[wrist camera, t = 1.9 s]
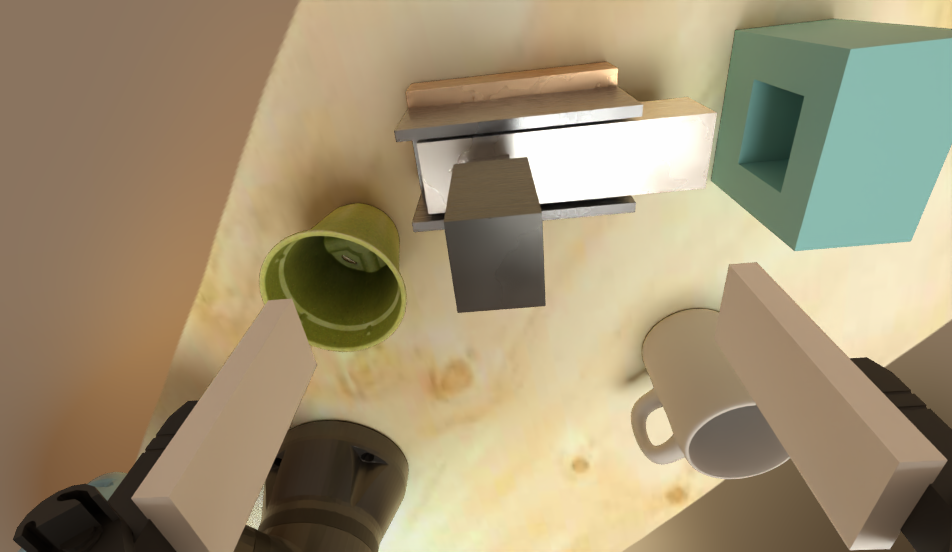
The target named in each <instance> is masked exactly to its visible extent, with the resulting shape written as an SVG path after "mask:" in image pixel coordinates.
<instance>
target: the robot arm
mask: <svg viewBox="0 0 952 552" xmlns="http://www.w3.org/2000/svg"><path fill="white" fill-rule="evenodd" d="M714 339H715V341H716V342H717V344H718V345H719V347H720V348H721V350H722V352H723V353H724V355H725V356H726V358H727V359H728V361H729V363H730V364H731V366H732V367H733V369H734V370H735V372H736V373H737V375H738V377H739V378H740V380H741V381H742V383H743V384H744V386H745V388H746V389H747V391H748V392H749V394H750V395H751V397H752V399H753V400H754V402H755V403H756V405H757V406H758V408H759V409H760V411H761V413H762V414H763V416H764V417H765V419H766V420H767V422H768V424H769V425H770V427H771V428H772V430H773V431H774V433H775V435H776V436H777V438H778V439H779V441H780V442H781V444H782V445H783V447H784V449H785V450H786V452H787V453H788V455H789V456H790V458H791V460H792V461H793V463H794V464H795V466H796V467H797V469H798V470H799V471H800V474H801V475H802V477H803V478H804V480H805V481H806V483H807V485H808V486H809V488H810V489H811V491H812V492H813V494H814V496H815V497H816V498H817V500H818V502H819V503H820V505H821V507H822V508H823V510H824V511H825V513H826V514H827V516H828V517H829V519H830V521H831V522H832V524H833V525H834V527H835V528H836V530H837V532H838V533H839V535H840V536H841V538H842V539H843V541H844V542H845V544H846V546H847V547H848V549H849V550H870V549H890V548H891V546H892V545H893V543H894V542H895V540H896V538H897V537H898V536H899V534H900V532H901V531H902V533H903V534H904V535H905V537H906V538H907V539H908V541H909V542H910V543H911V545H912V546H913V547H914V549H915V550H914V552H952V429H951V428H950V427H948V425H946V424H945V423H944V422H943V421H942V420H941V419H940V418H939V417H938V416H937V415H936V414H935V413H934V412H933V411H932V410H931V409H927V408H926V404H925V403H924V402H923V401H921V400H920V399H919V398H918V397H917V396H916V395H915V394H912V393H911V390H910V389H909V388H908V387H907V386H906V385H905V384H904V383H903V382H902V381H901V380H900V379H899V378H897V377H896V376H895V375H894V374H893V373H892V372H890V371H889V370H887V369H886V368H884V367H882V366H880V365H879V364H877V363H875V362H874V361H872V360H870V359H869V358H867V357H866V358H849V357H848V356H847V355H846V354H845V353H844V352H843V351H842V350H841V349H840V348H839V347H838V346H837V345H836V344H835V343H834V342H833V341H832V340H831V339H830V338H829V337H828V336H827V335H826V334H825V333H824V332H823V331H822V329H821V328H820V327H819V326H818V325H817V324H816V323H815V322H814V321H813V320H812V319H811V318H810V317H809V316H808V315H807V314H806V313H805V312H804V311H803V310H802V309H801V308H800V307H799V306H798V305H797V304H796V303H795V302H794V300H793V299H792V298H791V297H790V296H789V295H788V294H787V293H786V292H785V291H784V290H783V289H782V288H781V287H780V286H779V285H778V284H777V283H776V282H775V281H774V280H773V279H772V278H771V277H770V276H769V275H768V274H767V273H766V272H765V270H764V269H763V268H762V267H761V266H760V265H759V264H758V263H757V262H754V263H741V264H729V268H728V273H727V278H726V282H725V287H724V292H723V297H722V302H721V307H720V312H719V317H718V322H717V326H716V331H715V336H714ZM316 366H317V364H316V361H315V358H314V356H313V353H312V350H311V348H310V345H309V342H308V340H307V337H306V334H305V332H304V329H303V326H302V324H301V321H300V319H299V316H298V313H297V311H296V308H295V305H294V303H293V300H292V299H280V300H268V301H267V303H266V304H265V306H264V307H263V309H262V310H261V312H260V313H259V314H258V316H257V317H256V319H255V320H254V322H253V323H252V325H251V326H250V327H249V329H248V330H247V332H246V333H245V335H244V336H243V338H242V339H241V340H240V342H239V343H238V345H237V346H236V348H235V349H234V350H233V352H232V353H231V355H230V356H229V358H228V359H227V361H226V362H225V363H224V365H223V366H222V368H221V369H220V371H219V372H218V374H217V375H216V376H215V378H214V379H213V381H212V382H211V384H210V385H209V387H208V388H207V389H206V391H205V392H204V394H203V395H202V397H201V398H200V400H198V401H188V402H186V403H185V404H184V405H183V406H182V407H180V408H179V409H178V410H177V411H176V412H174V413H173V414H172V415H171V416H170V417H169V418H168V419H167V421H166V422H165V423H164V425H163V426H162V427H161V429H160V430H159V431H158V433H157V434H156V438H153V440H152V441H151V442H150V444H149V445H148V446H147V448H146V449H145V450H146V452H145V453H142V455H141V456H140V457H139V459H138V460H137V461H136V463H135V464H134V465H133V467H132V468H131V470H130V471H129V472H128V474H127V473H123V472H112V473H107V474H104V475H101V476H99V477H97V478H95V479H93V480H92V481H90V482H89V483H88V484H81V485H74V486H71V487H69V488H66V489H64V490H61V491H59V492H57V493H55V494H53V495H52V496H50V497H49V498H47V499H45V500H44V501H42V502H41V503H40V504H39V505H37V506H36V507H35V508H34V509H33V510H32V511H31V512H30V513H28V514H27V516H26V517H25V518H24V519H23V521H22V522H21V523H20V525H19V526H18V527H17V530H16V532H15V536H14V538H13V540H14V541H15V542H16V543H17V544H18V545H19V546H21V547H22V548H21V549H20V550H19V551H18V552H378V549H379V545H380V542H381V540H382V538H383V537H384V535H385V533H386V531H387V529H388V527H389V525H390V523H391V521H392V519H393V518H394V516H395V514H396V512H397V510H398V508H399V506H400V504H401V502H402V500H403V498H404V495H405V492H406V486H407V480H408V464H407V461H406V459H405V457H404V455H403V453H402V452H401V451H400V449H399V448H398V447H397V446H396V445H395V444H394V443H393V442H392V441H390V440H389V439H388V438H386V437H385V436H383V435H381V434H380V433H378V432H376V431H374V430H371V429H369V428H366V427H364V426H361V425H357V424H353V423H348V422H341V421H318V422H311V423H307V424H303V425H300V426H298V427H295V428H293V429H291V430H289V431H288V429H289V426H290V424H291V422H292V420H293V418H294V415H295V413H296V411H297V409H298V406H299V404H300V402H301V400H302V397H303V395H304V393H305V391H306V388H307V386H308V384H309V382H310V380H311V377H312V375H313V373H314V371H315V368H316ZM287 431H288V432H287ZM263 485H264V494H263V507H262V520H261V523H260V526H259V528H258V530H256V529H254V528H252V527H250V526H248V525H246V523H247V520H248V518H249V516H250V514H251V511H252V509H253V507H254V505H255V502H256V500H257V498H258V496H259V493H260V491H261V489H262V487H263Z"/></svg>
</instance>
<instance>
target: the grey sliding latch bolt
mask: <svg viewBox="0 0 952 552" xmlns="http://www.w3.org/2000/svg"><path fill="white" fill-rule="evenodd" d="M640 103H642V104H643V112H642V117H633V118H624V119H614V120H605V121H595V122H585V123H576V124H566V125H556V126H547V127H537V128H528V129H518V130H508V131H499V132H489V133H479V134H470V135H460V136H450V137H441V138H431V139H422V140H418V141H417V150H418V155H419V161H420V167H421V173H422V179H423V184H424V190H425V196H426V202H427V208H428V214H435V213H445V217H444V228H445V234H446V241H447V247H448V254H449V260H450V267H451V273H452V279H453V286H454V292H455V299H456V305H457V312H458V313H461V312H474V311H487V310H499V309H512V308H525V307H538V306H545V280H544V253H543V225H542V211H541V207H540V204H542V203H553V202H564V201H575V200H585V199H596V198H607V197H618V196H628V195H639V194H650V193H661V192H671V191H682V190H693V189H704V188H706V181H707V175H708V168H709V162H710V155H711V149H712V143H713V136H714V130H715V123H716V117H717V112H715V111H713V110H711V109H709V108H707V107H706V106H704V105H702V104H700V103H698V102H696V101H694V100H692V99H691V98H689V97H682V98H673V99H663V100H654V101H644V102H640Z"/></svg>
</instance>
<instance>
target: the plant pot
mask: <svg viewBox="0 0 952 552" xmlns="http://www.w3.org/2000/svg"><path fill="white" fill-rule="evenodd" d="M399 244H400V240H399V235H398V232H397V230H396V227H395V225H394V223H393V222H392V220H391V219H390V218H389V217H388V216H387V215H386V214H385V213H384V212H382V211H381V210H379V209H378V208H375V207H373V206H370V205H367V204H362V203H356V204H349V205H345V206H341V207H338V208H337V209H335V210H334V211H333V212H331V213H330V214H329V215H328V216H326V217H325V218H324V219H323V220H322V221H321V222H319V223H318V224H317V225H316V226H314V227H313V228H312V229H311V230H306V231H302V232H298V233H295V234H293V235H291V236H288V237H286V238H285V239H283V240H281V241H280V242H279V243H278V244H276V245H275V246H274V247H273V248H272V249H271V251H270V252H269V253H268V255H267V256H266V258H265V260H264V262H263V264H262V267H261V270H260V275H259V287H260V293H261V297H262V300H263V302H264V305H265V304H266V303H267V301H268V300H280V299H292V300H293V303H294V305H295V308H296V311H297V313H298V316H299V319H300V321H301V324H302V326H303V329H304V332H305V334H306V337H307V340H308V342H309V345H311V346H314V347H317V348H320V349H324V350H331V351H338V352H352V351H359V350H364V349H367V348H370V347H373V346H375V345H377V344H379V343H381V342H383V341H384V340H386V339H387V338H389V337H390V336H391V335H392V334H393V333H394V332H395V330H396V329H397V328H398V326H399V325H400V323H401V321H402V319H403V317H404V314H405V309H406V299H407V296H406V288H405V284H404V281H403V278H402V276H401V274H400V272H399ZM342 255H345V256H346V257H348V258H349V259H351V260H353V261H354V262H357V263H356V264H354V263H350V262H347V261H346V260H344V259H343V258H342Z"/></svg>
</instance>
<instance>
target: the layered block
mask: <svg viewBox="0 0 952 552" xmlns="http://www.w3.org/2000/svg"><path fill="white" fill-rule="evenodd" d="M617 77H618V68H617V67H615V66H613V65H612V64H610V63H608V62H599V63H590V64H581V65H572V66H563V67H554V68H545V69H536V70H527V71H518V72H509V73H500V74H492V75H483V76H474V77H465V78H456V79H447V80H438V81H429V82H420V83H412V84H411V85H410V86H409V88H408V89H407V90H406V98H407V104H408V110H407V111H406V113H405V114H404V116H403V118H402V119H401V121H400V122H399V124H398V126H397V127H396V129H395V130H394V133H395V138H396V142H402V141H412V142H413V148H414V153H415V159H416V165H417V170H418V176H419V182H420V187H421V195H420V199H419V202H418V205H417V208H416V212H415V215H414V218H413V221H412V226H413V231H414V232H421V231H432V230H443V229H445V228H444V217H445V213H435V214H428V208H427V202H426V196H425V190H424V184H423V179H422V173H421V167H420V161H419V155H418V150H417V141H418V140H422V139H431V138H441V137H450V136H460V135H470V134H479V133H489V132H499V131H508V130H518V129H528V128H537V127H547V126H556V125H566V124H576V123H585V122H595V121H605V120H614V119H624V118H633V117H642V112H643V104H642V103H640V102H639V101H637V100H636V99H635V98H633V97H632V96H631V95H629V94H628V93H626V92H625V91H624V90H622V89H621V88H620V87H618V86H617ZM635 205H636V202H635V201H634V199H633V198H632V197H631V195H628V196H618V197H607V198H596V199H585V200H575V201H564V202H553V203H542V204H540V207H541V211H542V221H543V220H554V219H565V218H576V217H587V216H598V215H609V214H620V213H631V212H635Z"/></svg>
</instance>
